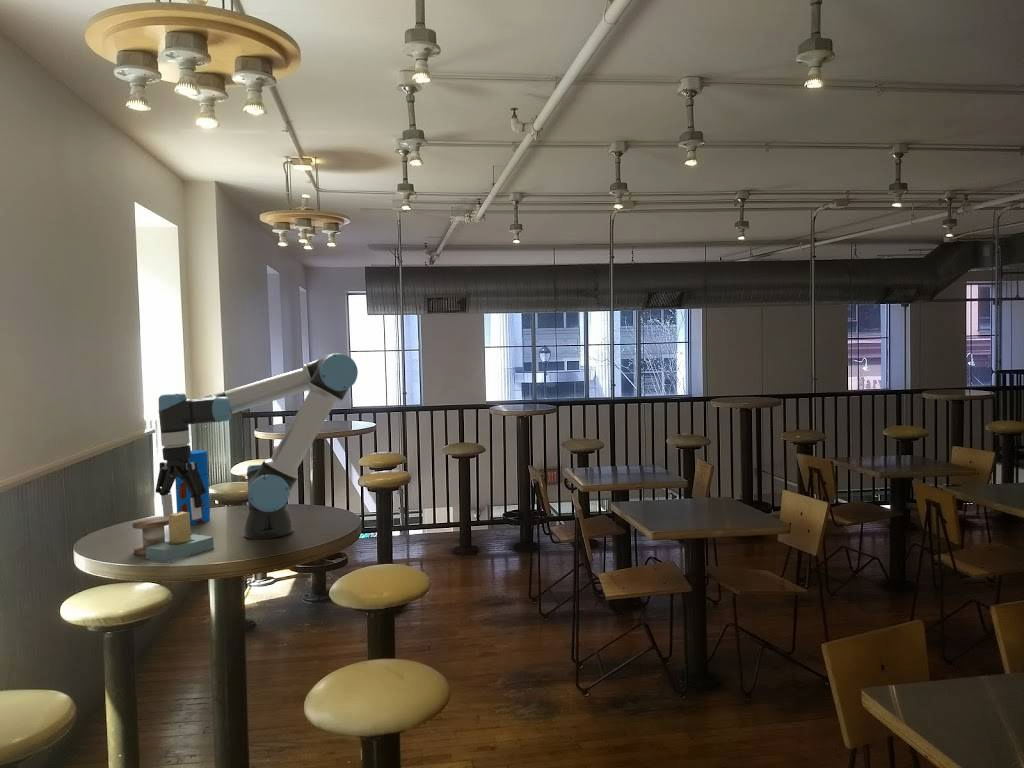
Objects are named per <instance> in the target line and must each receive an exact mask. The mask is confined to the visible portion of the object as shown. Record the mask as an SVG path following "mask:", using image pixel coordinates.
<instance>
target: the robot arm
mask: <svg viewBox="0 0 1024 768" xmlns="http://www.w3.org/2000/svg"><path fill="white" fill-rule="evenodd" d="M358 373H359V372H358V367H357V363H356V362H355V360H354V359H353V358H352V357H350V356H349V355H347V354H345V353H343V352H333V353H329V354H326V355H323V356H322V357H320V358H318V359H316V360H313V361H312V362H308V363H304V364H303V366H302V367H301V368H299V369H295V370H291V371H289V372H285V373H282V374H277V375H276V376H272V377H268V378H264V379H262V380H259V381H255V382H252V383H248V384H246V385H242V386H239V387H235V388H232V389H229V390H228V389H227V390H225V391H221V392H217V393H215V394H209V395H206V396H204V397H200V398H191V399H190V398H187V394H186V393H183V392H181V393H167V394H161V395H160V396H159V397H158V418H159V426H160V438H161V439H160V440H161V441H160V442H161V446H162V459H163V461H161V462H159V470H158V471H159V472H158V477H157V481H156V486H155V487H156V488H155V493H156V494H159V496H160V497H161V504H162V513H163V515H162V516H164V517H168V515H170V514H174V508H173V498H172V492H171V490H172V487H173V485H174V483H175V478H176V477H178V478H180V479H182V480H183V481H184V483H185V485H186V486H187V488H188V490H189V491H190V493H191V495H192V496H191V498H190V500H191V512H192V520H195V519H199V518H202V513H201V495H203V494H205V493H206V490H205V488H204V485H203V483H202V480H201V477H200V475H199V472H198V470H197V463H196V462H192V463H189V461H188V458H190V457H191V451H192V450H191V445H189V444H190V443H191V441H190V440H191V439H190V432H189V431H190V428H189V425H197V424H207V423H211V424H212V423H221V422H227V421H230V420H231V418H232V416H231V415H232V414H236V413H239V412H242V411H245V410H248V409H251V408H254V407H258V406H261V405H265V404H268V403H271V402H274V401H277V400H281V399H284V398H287V397H291V396H293V395H294V396H295V395H298V394H300V393H301V394H302V393H304V392H307V391H309V392H308V394H307V395H306V397H305V399H304V401H303V402H302V404H301V406H300V408H299V409H298V411H297V412H296V414H295V416H294V417H293V420H292V421H291V423H290V425H289V426H288V427H287V430H286V431H285V433H284V434H283V437H282V439H281V441H280V442H279V444H278V446H277V447H276V448H275V450H274V452H273V454H272V455H271V457H269V458H266V459H264V460H263V462H262V463H261V464H253V465H251V464H250V465H249V466H247V470H246V471H247V472H246V477H247V497H248V498H247V499H248V500H247V501H248V514H247V519H246V522H245V526H244V528H243V536H244V538H246V539H253V540H254V539H255V540H264V539H265V540H266V539H274V538H280V537H283V536H287V535H289V534H292V533H293V531H294V529H293V521H292V520H291V518H290V514H289V511H288V510H287V502H288V501H289V499H290V498H289V497H290V496H291V494H290V493H291V491H292V489H293V487H294V485H295V484H296V482H297V480H298V478H299V475H298V472H297V470H298V468H299V466H300V465H301V463H302V462H303V459H304V458H305V456H306V455H307V453H308V451H309V449H310V447H311V445H312V444H313V442H314V441H315V439H316V437H317V435H318V433H320V430H321V429H322V426H323V425H324V423H325V421H326V419H327V418H328V416H329V415H330V412H331V410H332V409H333V408H334V406H335V404H337V403H341V402H342V401H343V399H344V397H345V396H346V394H347V392H349V389H350V388H351V387H352V386H353V385H355V383H356V382H357V378H358V375H359V374H358ZM200 490H201V491H200Z"/></svg>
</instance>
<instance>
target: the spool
mask: <svg viewBox="0 0 1024 768" xmlns="http://www.w3.org/2000/svg"><path fill="white" fill-rule="evenodd" d="M131 524H132V526H131V527H132V528H133V529H135V530H137V529H138V530H141V532H142V544H140V545H137V546H135V547H134V548H133V554H134V555H135V556H140V555H141V557H142V555H146V547H148V546H152V545H155V544H159V543H163V542H166V534H165V527H166V526H169V519H168V517H164V516H163V515H161V516H151V517H150V516H149V517H145V518H140V519H136V520H134V521H132V522H131Z"/></svg>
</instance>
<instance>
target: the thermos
mask: <svg viewBox="0 0 1024 768" xmlns="http://www.w3.org/2000/svg"><path fill="white" fill-rule="evenodd" d="M188 461H189V463H192V462H196V463H197V470H198V472H199V475H200V477H201V480H202V483H203V485H204V488H205V490H206V493H205V494H203V495H201V513H202V518H199V519H195V520H192V512H191V500H190V498H191V496H192V495H191V493H190V491H189V490H188V488H187V486H186V485H185V483H184V481H183V480H182V479H180V478H178V477H176V478H175V481H174V483H175V497H176V498H175V501H176V502H175V503H176V513H178V512H189V513H190V526H191V525H192V526H194V525H200V524H204V523H208V522H211V521H210V520H211V507H210V506H211V503H210V486H209V484H210V483H209V482H210V481H209V463H208V462H209V461H208V452H207V450H202V449H200V450H199V449H198V450H197V449H196V450H195V449H194V450H191V457H190V458H188ZM200 491H201V490H200Z"/></svg>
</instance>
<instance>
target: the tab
mask: <svg viewBox="0 0 1024 768" xmlns="http://www.w3.org/2000/svg"><path fill="white" fill-rule="evenodd" d="M168 519H169V525H168V534H169V538H168V541H170V545H176V546H177V545H180V544H184V543H188V542H191V535H192V534H191V525H190V513H189V512H178V513H177V512H175V513H174V512H173V514H170V515H168Z"/></svg>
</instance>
